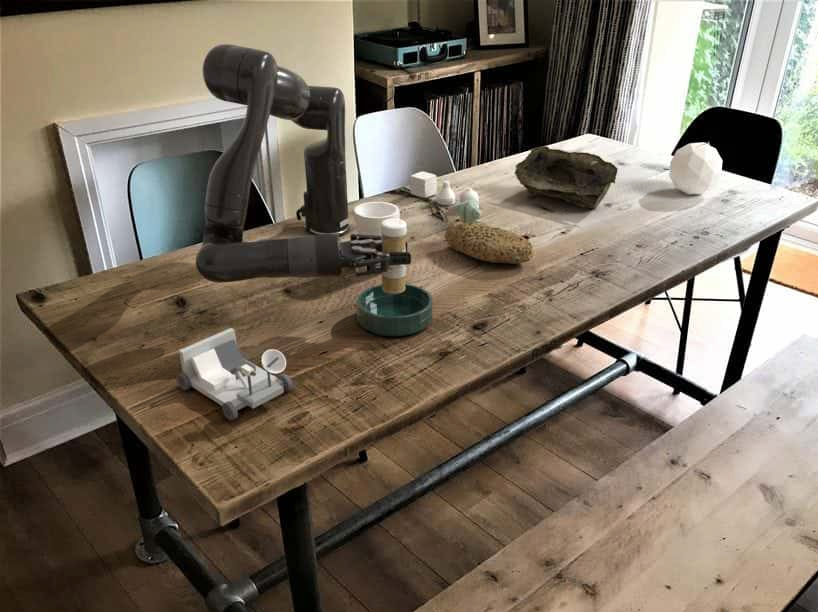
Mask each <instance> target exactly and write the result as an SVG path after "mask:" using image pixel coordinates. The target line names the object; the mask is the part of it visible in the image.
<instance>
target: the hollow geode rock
mask: <svg viewBox="0 0 818 612" xmlns="http://www.w3.org/2000/svg"><path fill="white" fill-rule="evenodd" d="M618 170H619V169H618V167H617V166H616V165H615V164H613V163H612V162H609V161H605V160H604V159H603V158H602V157H601V156H600V155H597V154H595V153H589V152H583V151H582V152H581V151H573V152H569V151H563V150H561V149H550V148H549V146H548V145H542V146H538V147H534V148H532V149H531V150H530V152H529V153H528V154H527V156H526V157H525V159H523V160H522V161H520V162H518V163H517V164H516V165H515V171H514V175H515V177H516V180H517V181H519V184H520V185H521V186H523V188H525V189H526V190H527V191H528V192H529V196H530V197H537V196H539V195H546V196H550V197H552V198H553V197H554V198H559V199H563V200H565V201H566V202H567V203H572V204H574V205H575V204H576V205H578V206H582V207H584V208H588V209H592V210H596V209H597V208H598V206H599V205H600V203H601V202H602V200H604V198H605V197H606V195H607V193H608V191H609V190H610V188H611V185H612V184H616V180H617V175H618Z"/></svg>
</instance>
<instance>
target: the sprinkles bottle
mask: <svg viewBox="0 0 818 612" xmlns="http://www.w3.org/2000/svg"><path fill="white" fill-rule="evenodd" d="M381 233H382V252H387V253H390V252H406V248H405V241H406V235H407V222H406V221H404V220H402V219H401V218H400V219H387V220H384V221H383V222H382V223H381ZM406 270H407V269H406V265H390V267H388V271H387V272H382V273H381V284H382V290H383V291H384V292H385V293H388V294H399V293H402V292H404V291H405V289H406V288H405V284H406Z"/></svg>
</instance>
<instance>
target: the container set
mask: <svg viewBox="0 0 818 612" xmlns="http://www.w3.org/2000/svg"><path fill="white" fill-rule="evenodd" d="M409 182H410V183H409V186H410V189H409V190H410V194H411V195H413V196H416V197H419V198H424V199H427V198H429V197H431V196H433V195H435V198H436V199H435V202H436V204H438V205H442V206H451V205H455V203H456V195H455V193H454V191H453V190H452V188H451V187H450V181H449V180H443V181H442V186H441V188H440V190H438V191H437V189H438V183H437V182H438V176H437V175H436V174H435V173H430V172H427V171H419V172H416V173H414V174H411V175H410V179H409ZM478 194H479V193H477V192H476V191H475V190H474V189H472V188H471V187H467V189H464V190H463V191H462V192H460V194H459V197H458V201H459V203H458V204H460V203H463V202H465V201H467V200H472V201H474V202H475V203H476V204H477V206H478V208H479V209H480V206H479V202H480V201H479V200H480V199H479V197H480V196H479V195H478Z"/></svg>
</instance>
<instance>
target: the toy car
mask: <svg viewBox="0 0 818 612" xmlns="http://www.w3.org/2000/svg"><path fill="white" fill-rule="evenodd" d="M178 353H179V360H180V364H181V365H180V366H181V369H182V371H180V372H179V373H177V374H176V382H177V384H178V386H179V387H180V389H182V390H183V391H188V390H190V389H191V388H194V389H195V390H197V391H198V392H200V394H203V395H204V396H206V397H208V398H209V399H210V400H212V401H214V402H215V403H217V404H218V405H220V406H221V409H222V413H223V415H224V416H225V418H226V419H227V420H228V421H230V422H231V421H235V420H237V418H238V417H239V412H238V411H239V410H241V409H243V408H245V407H247V406H248V407H250V409H255V408H257V407H259V406H260V405H263V404H265V403H267V402H269V401H270V400H272V399H274V398H276V397H278V396H280V395H282V394H283V393H288V392H291V390H292V389H293V381H292V379H291V378H290V376H289V374H286V373H282V372H283V371H285V369H286V367H287V359H286V357H285V355H284V354H283V353H282V352H281V351H280V350H277V349H275V348H273V349H272V348H270V349H267V350H265V351H264V352H263V353H262V356H261V366H262V368H261V367H259V366H257V364H254V363H252V362H250V361H249V360H247V359H246V354H245V352H244V350H242V348H240V347H238V344H237V337H236V330H235V329H234V328H232V327H230V328H228V329H225V330H223V331H221V332H219V333H216V334H214V335H211V336H209V337H207V338H205V339H201V340H200V341H198V342H195V343H193V344H191V345H188V346H185V347H183V348H181V349H179V350H178ZM280 373H281V374H280ZM273 374H279V375H278V376H275V375H273Z"/></svg>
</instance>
